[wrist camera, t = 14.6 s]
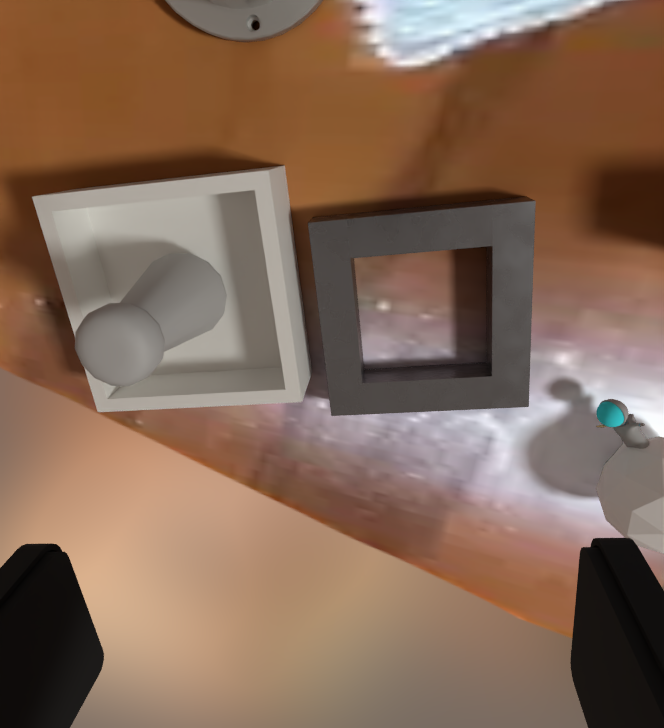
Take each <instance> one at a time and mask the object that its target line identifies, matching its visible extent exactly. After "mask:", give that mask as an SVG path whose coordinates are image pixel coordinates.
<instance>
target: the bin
mask: <svg viewBox="0 0 664 728" xmlns="http://www.w3.org/2000/svg"><path fill="white" fill-rule="evenodd" d="M32 199H33V202H34V205H35V209H36V212H37V215H38V218H39V222H40V225H41V228H42V231H43V235H44V238H45V241H46V244H47V248H48V251H49V254H50V257H51V261H52V264H53V267H54V270H55V274H56V277H57V280H58V283H59V287H60V290H61V293H62V297H63V300H64V303H65V306H66V310H67V313H68V316H69V319H70V323H71V326H72V329H73V332H74V336H75V332H76V330H77V329H78V327H79V325H80V324H81V322H82V320H83V319H84V318H85V317H86V315H87V314H88V313H90V312H92V311H94V310H96V309H98V308H100V307H102V306H104V305H106V304H109V303H120V302H121V300H122V299H123V298H124V297H125V295H126V294H127V293H128V292H129V290H130V289H131V288H132V287H133V285H134V284H135V283H136V282H137V280H138V279H139V278H140V277H141V275H142V274H143V273H144V272H145V270H146V269H147V268H148V267H149V265H150V264H151V263H152V262H153V261H155V260H157V259H159V258H161V257H163V256H165V255H167V254H170V253H191V254H193V255H195V256H197V257H199V258H201V259H203V260H205V261H207V262H209V263H210V264H211V266H212V267H213V268H214V269H215V270H216V271H217V272H218V273H219V274H220V275H221V277H222V281H223V284H224V287H225V290H226V294H227V298H226V304H225V311H224V314H223V316H222V317H221V319H220V320H219V321H218V323H217V324H216V325H215V327H214V328H213V329H212V330H210V331H207V332H205V333H203V334H201V335H199V336H197V337H195V338H193V339H190V340H188V341H186V342H184V343H182V344H180V345H178V346H176V347H174V348H171V349H169V350H167V351H165V352H164V355H163V359H162V360H161V362H160V363H159V365H158V366H157V367H156V369H155V370H154V371H153V372H152V374H151V375H150V376H149V377H147V378H145V379H143V380H141V381H139V382H137V383H135V384H133V385H130V386H111V385H109V384H107V383H105V382H102V381H100V380H98V379H96V378H94V377H93V376H92V375H91V374H90V373H89V372H88V371H87V370H86V368H85V367H84V368H85V371H86V375H87V378H88V381H89V385H90V388H91V391H92V394H93V398H94V401H95V404H96V407H97V411H98V412H111V411H131V410H151V409H171V408H191V407H211V406H231V405H251V404H271V403H291V402H302V400H303V398H304V395H305V392H306V389H307V386H308V383H309V380H310V377H311V374H312V367H311V360H310V352H309V345H308V337H307V330H306V322H305V315H304V307H303V300H302V292H301V285H300V277H299V270H298V262H297V255H296V247H295V240H294V232H293V225H292V217H291V210H290V202H289V195H288V187H287V180H286V172H285V166H276V167H267V168H258V169H249V170H240V171H231V172H222V173H214V174H205V175H196V176H187V177H178V178H169V179H160V180H151V181H142V182H133V183H125V184H116V185H107V186H98V187H89V188H80V189H73V190H67V191H61V192H56V193H50V194H44V195H38V196H33V197H32Z"/></svg>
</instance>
